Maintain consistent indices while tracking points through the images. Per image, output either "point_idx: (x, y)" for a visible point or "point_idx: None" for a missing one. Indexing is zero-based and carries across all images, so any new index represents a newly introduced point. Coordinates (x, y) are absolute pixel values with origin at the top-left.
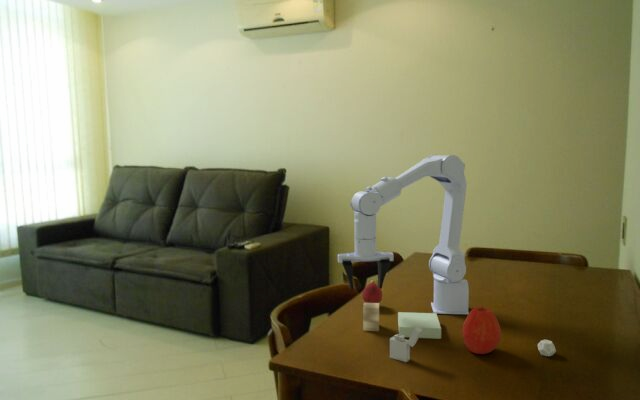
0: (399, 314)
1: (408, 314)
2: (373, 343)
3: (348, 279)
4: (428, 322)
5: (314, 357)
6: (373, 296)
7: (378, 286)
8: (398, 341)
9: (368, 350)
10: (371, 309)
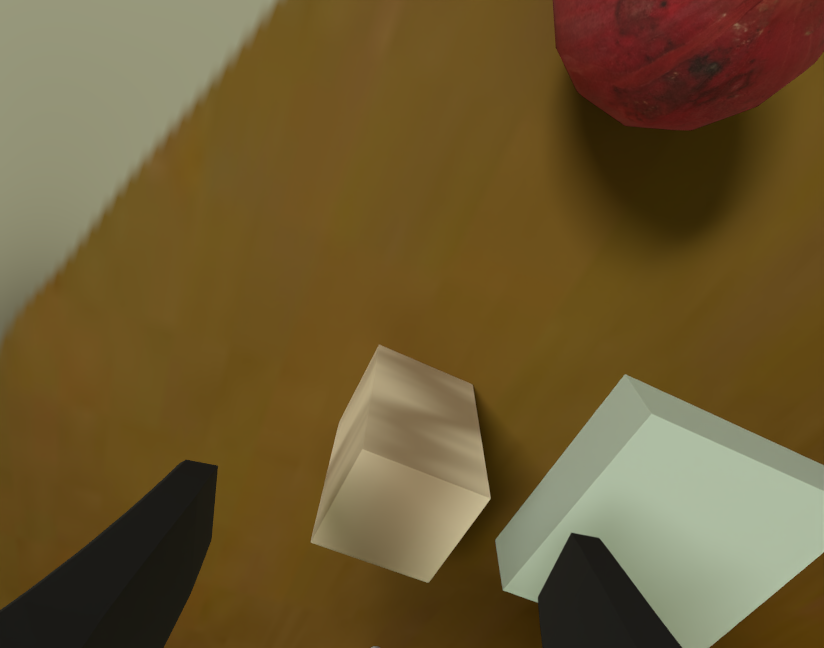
0: (629, 452)
1: (687, 470)
2: (335, 555)
3: (103, 549)
4: (700, 593)
5: (30, 579)
6: (636, 123)
7: (562, 558)
8: None
9: (287, 596)
10: (375, 557)
